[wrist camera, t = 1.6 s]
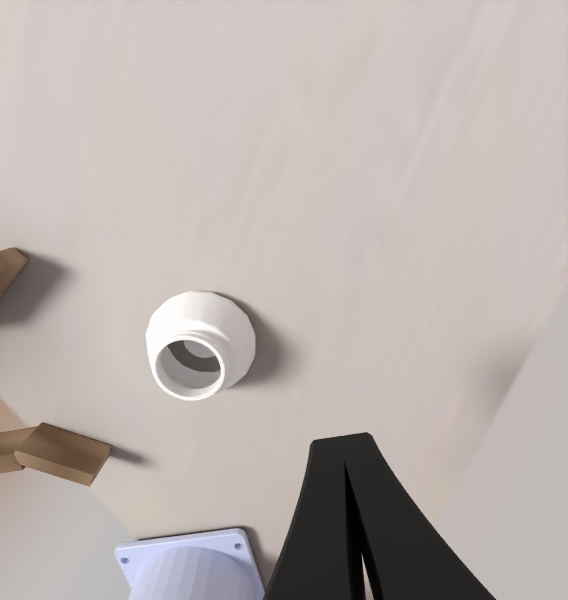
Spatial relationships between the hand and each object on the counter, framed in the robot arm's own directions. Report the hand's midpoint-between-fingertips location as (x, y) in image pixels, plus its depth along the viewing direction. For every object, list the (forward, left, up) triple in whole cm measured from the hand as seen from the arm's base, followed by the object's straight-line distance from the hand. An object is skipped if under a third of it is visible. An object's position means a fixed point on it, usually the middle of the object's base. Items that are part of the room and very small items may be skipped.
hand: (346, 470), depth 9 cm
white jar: (0, +6, -10) cm, 11 cm away
